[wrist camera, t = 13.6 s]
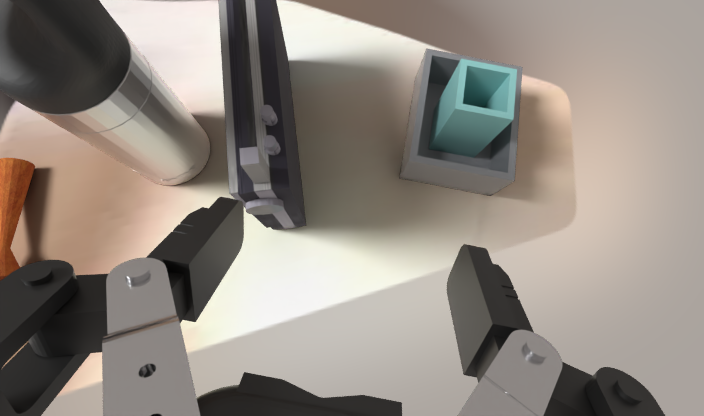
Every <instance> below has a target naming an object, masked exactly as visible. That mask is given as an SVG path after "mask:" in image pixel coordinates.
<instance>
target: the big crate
mask: <svg viewBox="0 0 704 416" xmlns="http://www.w3.org/2000/svg"><path fill="white" fill-rule="evenodd" d="M461 59H466V60H471V61H477V62H482V63H487V64H492V65H497V66H502V67H508V68H513V69H517V78H516V91H515V105H514V118H513V121H512V122H511V123H510V124H509V125H507V126H506V127H505V128H504V129H503V130H502V131H501V132H500V133H499V134H498V135H497V136H496V137H495V138H494V139H493V140H492V141H491V142H490V143H489V144H488V145H487V146H486V147H485V148H484V149H483V150H482V151H481V152H479V153H478V154H477V155H476V156H475V157H474V158H472V157H467V156H462V155H457V154H451V153H446V152H441V151H436V150H431V149H429V143H430V136H431V129H432V122H433V115H434V108H435V106H436V105H437V103H438V101H439V99H440V97H441V95H442V93H443V92H444V90H445V88H446V86H447V84H448V82H449V80H450V79H451V77H452V75H453V73H454V71H455V69H456V68H457V66H458V64H459V62H460V60H461ZM521 81H522V67H519V66H514V65H509V64H504V63H499V62H494V61H488V60H483V59H478V58H473V57H468V56H463V55H457V54H452V53H447V52H442V51H437V50H431V49H426V51H425V54H424V57H423V59H422V62H421V65H420V67H419V70H418V73H417V75H416V78H415V83H414V90H413V96H412V102H411V108H410V115H409V121H408V127H407V133H406V140H405V146H404V152H403V158H402V165H401V171H400V177H399V178H401V179H406V180H411V181H416V182H422V183H427V184H432V185H437V186H442V187H448V188H453V189H458V190H463V191H468V192H473V193H479V194H484V195H489V196H491V195H493V194H494V193H496V192H498V191H499V190H501V189H502V188H504V187H506V186H507V185H509V184H510V183H512V182H514V181H515V167H516V153H517V138H518V124H519V110H520V95H521Z"/></svg>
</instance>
